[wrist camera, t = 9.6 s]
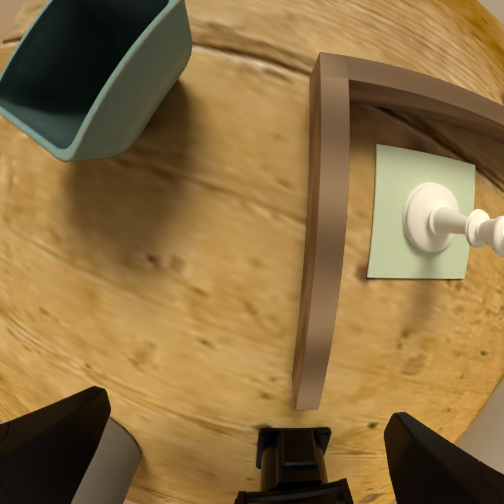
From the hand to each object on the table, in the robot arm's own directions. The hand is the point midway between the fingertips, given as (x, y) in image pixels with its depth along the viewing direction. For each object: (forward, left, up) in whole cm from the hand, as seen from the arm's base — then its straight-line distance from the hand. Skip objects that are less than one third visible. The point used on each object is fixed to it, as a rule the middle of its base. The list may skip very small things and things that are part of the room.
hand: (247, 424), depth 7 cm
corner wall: (+4, -14, -12) cm, 19 cm away
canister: (-19, +17, -13) cm, 29 cm away
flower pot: (+14, +9, -13) cm, 21 cm away
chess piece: (+6, -12, -12) cm, 18 cm away
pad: (+6, -12, -12) cm, 18 cm away
